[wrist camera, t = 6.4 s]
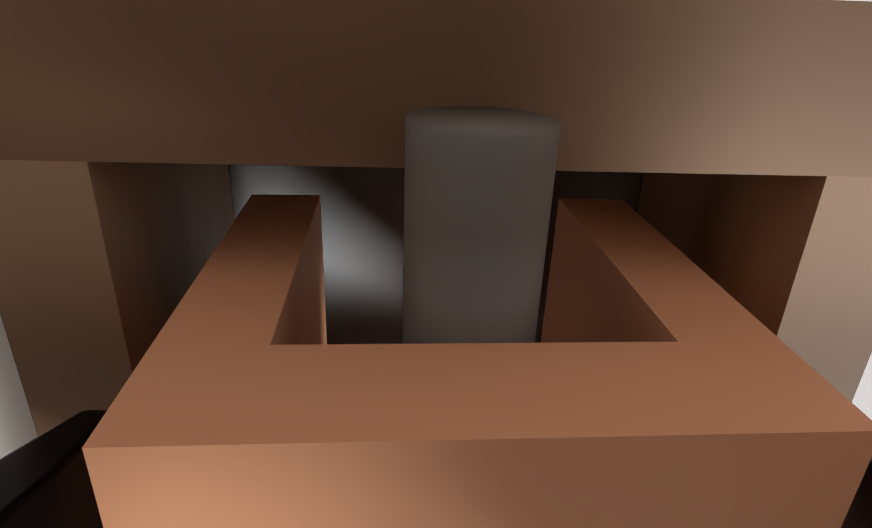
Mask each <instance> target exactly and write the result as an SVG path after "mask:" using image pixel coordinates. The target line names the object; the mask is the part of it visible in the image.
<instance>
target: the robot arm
mask: <svg viewBox="0 0 872 528" xmlns="http://www.w3.org/2000/svg"><path fill="white" fill-rule="evenodd" d="M106 411H107V410H84V411H81V412H79V413H78V414H76V415H74V416H73V417H71V418H69V419H67V420H66V421H64V422H62V423H61V424H59V425H57V426H56V427H54V428H52V429H51V430H49V431H47V432H46V433H44V434H42V435H40V436H39V437H37V438H35V439H34V440H32V441H30V442H29V443H27V444H25V445H24V446H22V447H20V448H18V449H17V450H15V451H13V452H12V453H10V454H8V455H7V456H5V457H3V458H2V459H0V528H103V524H102V521H101V517H100V513H99V509H98V506H97V502H96V498H95V495H94V491H93V487H92V483H91V480H90V476H89V472H88V469H87V465H86V461H85V457H84V454H83V450H82V447H83V446H84V444H85V443H86V441H87V440H88V438H89V437H90V435H91V434H92V432H93V431H94V429H95V428H96V426H97V425H98V423H99V422H100V420H101V419H102V417H103V416H104V414H105V413H106ZM841 528H872V458H871V460H870V462H869V464H868V467H867V469H866V471H865V474H864V476H863V478H862V480H861V483H860V485H859V487H858V489H857V492H856V494H855V496H854V499H853V501H852V503H851V505H850V508H849V510H848V512H847V515H846V517H845V519H844V521H843V524H842V526H841Z"/></svg>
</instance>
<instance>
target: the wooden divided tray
mask: <svg viewBox="0 0 872 528" xmlns="http://www.w3.org/2000/svg"><path fill="white" fill-rule="evenodd" d="M228 164H234V165H285V166H336V167H387V168H405V185H404V268H403V344H434V343H535V337H536V329H537V321H538V312H539V304H540V296H541V287H542V279H543V271H544V262H545V254H546V246H547V237H548V229H549V221H550V212H551V204H552V196H553V187H554V179H555V171H590V172H641V173H644V178H643V184H642V189H641V194H640V200H639V205H638V211H637V213H638V214H639V215H640V216H641V217H643V218H644V219H645V220H646V221H647V222H648V223H649V224H650V225H652V226H653V227H654V228H655V229H656V230H657V231H658V232H660V233H661V234H662V235H663V236H664V237H665V238H666V239H667V240H669V241H670V242H671V243H672V244H673V245H674V246H675V247H676V248H678V249H679V250H680V251H681V252H682V253H683V254H684V255H685V256H687V257H688V258H689V259H690V260H691V261H692V262H693V263H695V264H696V265H697V266H698V267H699V268H700V269H701V270H702V271H704V272H705V273H706V274H707V275H708V276H709V277H710V278H711V279H713V280H714V281H715V282H716V283H717V284H718V285H719V286H720V287H722V288H723V289H724V290H725V291H726V292H727V293H728V294H729V295H731V296H732V297H733V298H734V299H735V300H736V301H737V302H739V303H740V304H741V305H742V306H743V307H744V308H745V309H746V310H748V311H749V312H750V313H751V314H752V315H753V316H754V317H755V318H757V319H758V320H759V321H760V322H761V323H762V324H763V325H764V326H766V327H767V328H768V329H769V330H770V331H771V332H772V333H773V334H775V335H776V336H777V337H778V338H779V339H780V340H781V341H783V342H784V343H785V344H786V345H787V346H788V347H789V348H790V349H792V350H793V351H794V352H795V353H796V354H797V355H798V356H799V357H801V358H802V359H803V360H804V361H805V362H806V363H807V364H808V365H810V366H811V367H812V368H813V369H814V370H815V371H816V372H818V373H819V374H820V375H821V376H822V377H823V378H824V379H825V380H827V381H828V382H829V383H830V384H831V385H832V386H833V387H834V388H836V389H837V390H838V391H839V392H840V393H841V394H842V395H843V396H845V397H846V398H847V399H848V400H849V401H850V402H852V400H853V397H854V395H855V392H856V390H857V387H858V385H859V382H860V380H861V377H862V375H863V372H864V370H865V367H866V365H867V362H868V360H869V357H870V355H871V352H872V2H867V1H840V0H0V314H1V318H2V321H3V324H4V327H5V331H6V334H7V337H8V340H9V344H10V347H11V350H12V353H13V356H14V360H15V363H16V366H17V369H18V373H19V376H20V379H21V382H22V386H23V389H24V392H25V395H26V398H27V402H28V405H29V408H30V411H31V415H32V418H33V421H34V424H35V428H36V431H37V434H38V437H39V436H40V435H42V434H44V433H46V432H47V431H49V430H51V429H52V428H54V427H56V426H57V425H59V424H61V423H62V422H64V421H66V420H67V419H69V418H71V417H73V416H74V415H76V414H78V413H79V412H81V411H84V410H108V408H109V407H110V405H111V404H112V402H113V401H114V399H115V398H116V397H117V395H118V394H119V392H120V391H121V389H122V388H123V386H124V385H125V383H126V382H127V380H128V379H129V377H130V376H131V374H132V373H133V371H134V370H135V368H136V367H137V365H138V364H139V362H140V361H141V359H142V358H143V356H144V355H145V353H146V352H147V350H148V349H149V347H150V346H151V344H152V343H153V341H154V340H155V338H156V337H157V335H158V334H159V332H160V331H161V329H162V328H163V326H164V325H165V324H166V322H167V321H168V319H169V318H170V316H171V315H172V313H173V312H174V310H175V309H176V307H177V306H178V304H179V303H180V301H181V300H182V298H183V297H184V295H185V294H186V292H187V291H188V289H189V288H190V286H191V285H192V283H193V282H194V280H195V279H196V277H197V276H198V274H199V273H200V271H201V270H202V268H203V267H204V265H205V264H206V262H207V261H208V259H209V258H210V256H211V255H212V253H213V252H214V251H215V249H216V248H217V246H218V245H219V243H220V242H221V240H222V239H223V237H224V236H225V234H226V233H227V231H228V230H229V228H230V227H231V225H232V224H233V222H234V221H235V220H234V211H233V202H232V193H231V185H230V176H229V167H228Z"/></svg>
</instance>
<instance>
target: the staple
mask: <svg viewBox="0 0 872 528" xmlns="http://www.w3.org/2000/svg"><path fill="white" fill-rule="evenodd" d="M82 450H83V454H84V457H85V461H86V465H87V469H88V472H89V476H90V480H91V483H92V487H93V491H94V495H95V498H96V502H97V506H98V509H99V513H100V517H101V521H102V524H103V528H841V526H842V524H843V521H844V519H845V517H846V515H847V512H848V510H849V508H850V505H851V503H852V501H853V499H854V496H855V494H856V492H857V489H858V487H859V485H860V483H861V480H862V478H863V476H864V474H865V471H866V469H867V467H868V464H869V462H870V460H871V458H872V420H871V419H869V418H868V417H867V416H866V415H865V414H864V413H863V412H862V411H860V410H859V409H858V408H857V407H856V406H855V405H854V404H852V403H851V402H850V401H849V400H848V399H847V398H846V397H845V396H843V395H842V394H841V393H840V392H839V391H838V390H837V389H836V388H834V387H833V386H832V385H831V384H830V383H829V382H828V381H827V380H825V379H824V378H823V377H822V376H821V375H820V374H819V373H818V372H816V371H815V370H814V369H813V368H812V367H811V366H810V365H808V364H807V363H806V362H805V361H804V360H803V359H802V358H801V357H799V356H798V355H797V354H796V353H795V352H794V351H793V350H792V349H790V348H789V347H788V346H787V345H786V344H785V343H784V342H783V341H781V340H780V339H779V338H778V337H777V336H776V335H775V334H773V333H772V332H771V331H770V330H769V329H768V328H767V327H766V326H764V325H763V324H762V323H761V322H760V321H759V320H758V319H757V318H755V317H754V316H753V315H752V314H751V313H750V312H749V311H748V310H746V309H745V308H744V307H743V306H742V305H741V304H740V303H739V302H737V301H736V300H735V299H734V298H733V297H732V296H731V295H729V294H728V293H727V292H726V291H725V290H724V289H723V288H722V287H720V286H719V285H718V284H717V283H716V282H715V281H714V280H713V279H711V278H710V277H709V276H708V275H707V274H706V273H705V272H704V271H702V270H701V269H700V268H699V267H698V266H697V265H696V264H695V263H693V262H692V261H691V260H690V259H689V258H688V257H687V256H685V255H684V254H683V253H682V252H681V251H680V250H679V249H678V248H676V247H675V246H674V245H673V244H672V243H671V242H670V241H669V240H667V239H666V238H665V237H664V236H663V235H662V234H661V233H660V232H658V231H657V230H656V229H655V228H654V227H653V226H652V225H650V224H649V223H648V222H647V221H646V220H645V219H644V218H643V217H641V216H640V215H639V214H638V213H637V212H636V211H635V210H634V209H632V208H631V207H630V206H629V205H628V204H627V203H626V202H625V201H623V200H622V199H578V198H559V204H558V212H557V220H556V227H555V235H554V243H553V251H552V259H551V266H550V274H549V282H548V290H547V297H546V305H545V313H544V321H543V329H542V336H541V343H434V344H327V334H326V312H325V290H324V268H323V247H322V225H321V203H320V195H253V194H252V195H251V197H250V198H249V200H248V201H247V203H246V204H245V206H244V207H243V209H242V210H241V212H240V213H239V215H238V216H237V218H236V219H235V221H234V222H233V224H232V225H231V227H230V228H229V230H228V231H227V233H226V234H225V236H224V237H223V239H222V240H221V242H220V243H219V245H218V246H217V248H216V249H215V251H214V252H213V253H212V255H211V256H210V258H209V259H208V261H207V262H206V264H205V265H204V267H203V268H202V270H201V271H200V273H199V274H198V276H197V277H196V279H195V280H194V282H193V283H192V285H191V286H190V288H189V289H188V291H187V292H186V294H185V295H184V297H183V298H182V300H181V301H180V303H179V304H178V306H177V307H176V309H175V310H174V312H173V313H172V315H171V316H170V318H169V319H168V321H167V322H166V324H165V325H164V326H163V328H162V329H161V331H160V332H159V334H158V335H157V337H156V338H155V340H154V341H153V343H152V344H151V346H150V347H149V349H148V350H147V352H146V353H145V355H144V356H143V358H142V359H141V361H140V362H139V364H138V365H137V367H136V368H135V370H134V371H133V373H132V374H131V376H130V377H129V379H128V380H127V382H126V383H125V385H124V386H123V388H122V389H121V391H120V392H119V394H118V395H117V397H116V398H115V399H114V401H113V402H112V404H111V405H110V407H109V408H108V410H107V411H106V413H105V414H104V416H103V417H102V419H101V420H100V422H99V423H98V425H97V426H96V428H95V429H94V431H93V432H92V434H91V435H90V437H89V438H88V440H87V441H86V443H85V444H84V446H83V447H82Z"/></svg>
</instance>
